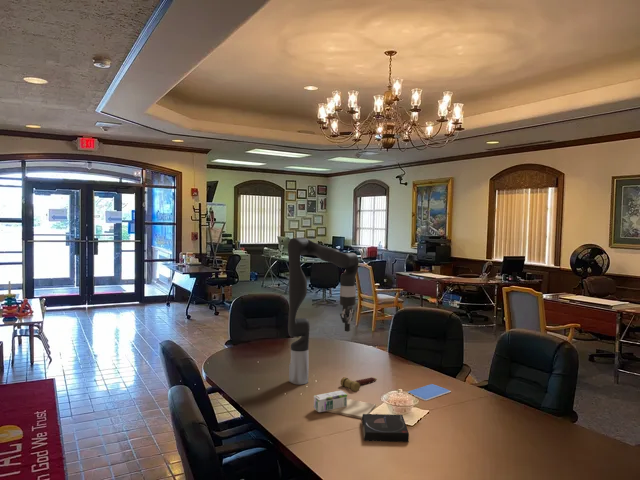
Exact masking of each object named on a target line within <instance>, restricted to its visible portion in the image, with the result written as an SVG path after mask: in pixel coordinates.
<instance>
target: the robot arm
mask: <svg viewBox="0 0 640 480" xmlns="http://www.w3.org/2000/svg"><path fill="white" fill-rule="evenodd" d="M305 255H306V256H308V255H309V256H315V257H316V258H318V259H320V260H322V261H324V262H327V263H329V264H333V265H334V266H337V267H339V268H342V269H345V270H344V272H342V273H341V274H340V284H339V285H340V287H339V305H340V306H342V310H341V311H342V313H339V316H340V319H341V322H342V323H344V332H346V333H347V332H350V331H351V323H352V322H353V319H354V315H355V311H356V309H354V308H353V306H356V301H357V299H356V298H357V296H356V295H357V294H356V293H357V289H356V276H357V272H358V267H359V263H360V262H359V257H358V255H357V254H356V253H355V252H341V251H340V250H339V249H337V248H334V247H333V248H332V247H329V246H325V245H321V244H319V243H316V242H314V241H312V240H311V239H308V238H306V237H292V238H290V240H289V241H288V243H287V257H288V271H289V272H288V273H289V274H288V275H289V276H288V277H289V278H288V279H289V280H288V295H289V296H288V297H289V299H288V300H289V301H288V303H289V304H288V305H289V308H288V319H287V320H288V322H287V331H288V335H289V336H290V338H294V337H295V338H296V337H297V338H298V337H300V338H299V339H298V340H296V341H292V342H291V344H290V362H289V364H288V382H289V383H291V384H294V385H305V384H307V383H309V352H310V351H309V349H310V348H309V343H310V321H309V319H308V318H307V317H306V318H305V317H304V318H303V317H301V318H297V313H298V310H299V309H300V306H301V304H302V303H303V302H304V300H305V299H306V296H307V293H308V280H307V277H306V275H305V273H304V271H303V270H302V264H301V256H305Z"/></svg>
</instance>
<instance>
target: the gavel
mask: <svg viewBox="0 0 640 480" xmlns="http://www.w3.org/2000/svg"><path fill="white" fill-rule="evenodd" d="M375 381H377V378H376V377H367V378H362V379H357V380H351V379H350V378H348V377H342V378H341V380H340V386H341V387H344V388H348V389H350V390H351V391H353V392H358V391H360V388H361V385H366V384H371V383H374V382H375Z"/></svg>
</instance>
